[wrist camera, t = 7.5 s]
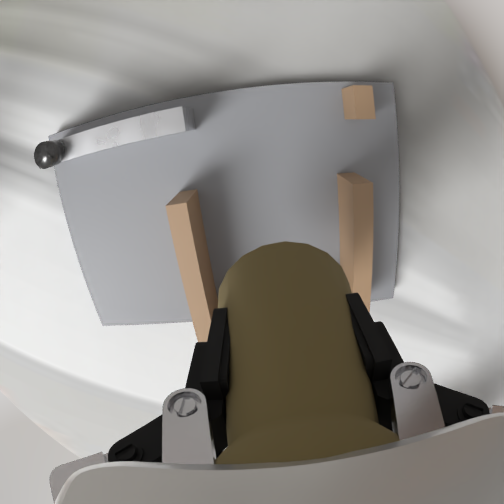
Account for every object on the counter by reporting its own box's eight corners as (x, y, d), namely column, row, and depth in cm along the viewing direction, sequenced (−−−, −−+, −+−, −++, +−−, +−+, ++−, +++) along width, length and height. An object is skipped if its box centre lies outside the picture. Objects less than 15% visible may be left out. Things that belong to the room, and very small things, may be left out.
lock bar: (59, 141, 18) (24, 149, 15) (192, 106, 18) (176, 103, 14) (63, 162, 19) (29, 174, 15) (195, 131, 18) (180, 134, 15)
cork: (268, 213, 12) (305, 519, 2) (376, 286, 14) (493, 504, 4) (193, 319, 14) (136, 558, 4) (296, 371, 16) (321, 577, 6)
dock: (55, 135, 19) (19, 141, 15) (387, 83, 18) (417, 77, 14) (106, 319, 25) (86, 351, 21) (388, 291, 24) (410, 323, 20)
